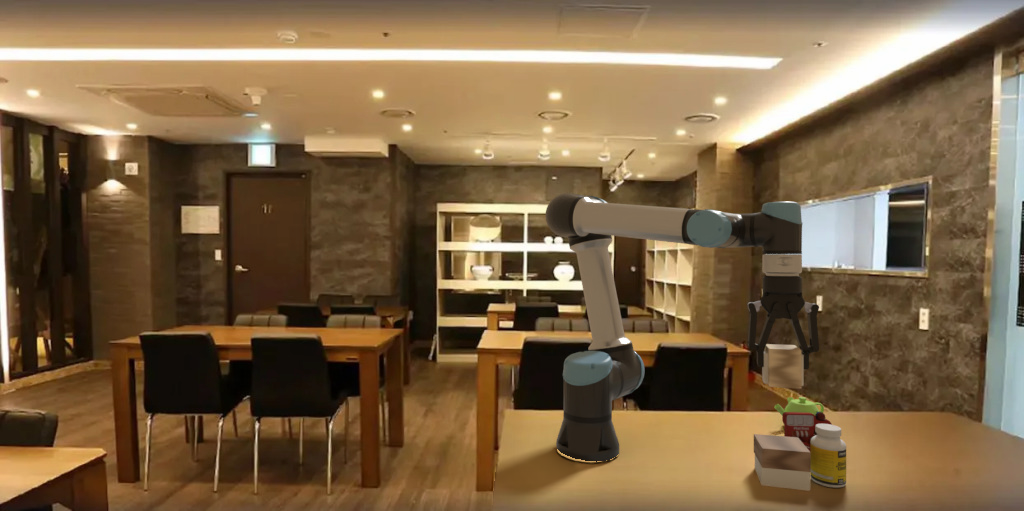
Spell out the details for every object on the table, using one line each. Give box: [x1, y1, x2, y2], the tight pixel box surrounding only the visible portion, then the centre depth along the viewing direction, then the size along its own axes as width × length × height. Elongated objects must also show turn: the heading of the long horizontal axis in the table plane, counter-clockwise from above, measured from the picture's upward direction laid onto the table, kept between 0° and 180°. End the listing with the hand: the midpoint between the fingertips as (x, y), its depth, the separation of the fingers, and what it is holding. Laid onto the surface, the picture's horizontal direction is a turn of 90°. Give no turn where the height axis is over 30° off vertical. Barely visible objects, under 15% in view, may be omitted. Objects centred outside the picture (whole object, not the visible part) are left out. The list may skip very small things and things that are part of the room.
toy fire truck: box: [781, 412, 833, 451], centre depth 124 cm, size 7×12×10 cm, turn 87°
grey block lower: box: [754, 454, 811, 492], centre depth 112 cm, size 9×9×4 cm
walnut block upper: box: [753, 433, 811, 473], centre depth 112 cm, size 9×9×4 cm
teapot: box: [774, 396, 827, 419], centre depth 143 cm, size 11×12×8 cm
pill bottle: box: [810, 423, 847, 489], centre depth 110 cm, size 6×6×12 cm
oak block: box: [764, 343, 803, 390], centre depth 111 cm, size 6×6×8 cm
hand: (782, 383), depth 111 cm, fingers closed on oak block, 6 cm apart
